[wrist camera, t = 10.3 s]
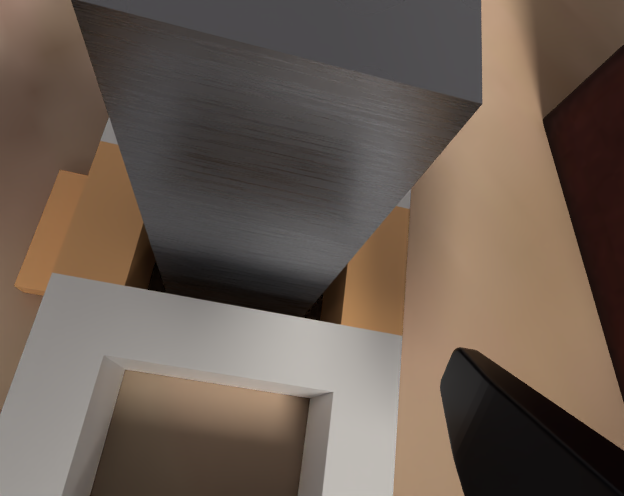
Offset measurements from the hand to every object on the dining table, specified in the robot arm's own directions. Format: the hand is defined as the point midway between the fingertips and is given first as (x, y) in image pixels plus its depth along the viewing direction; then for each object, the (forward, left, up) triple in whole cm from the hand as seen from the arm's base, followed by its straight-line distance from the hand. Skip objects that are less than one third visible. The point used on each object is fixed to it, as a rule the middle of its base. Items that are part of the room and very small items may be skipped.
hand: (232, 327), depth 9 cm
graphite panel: (+4, +1, -8) cm, 9 cm away
